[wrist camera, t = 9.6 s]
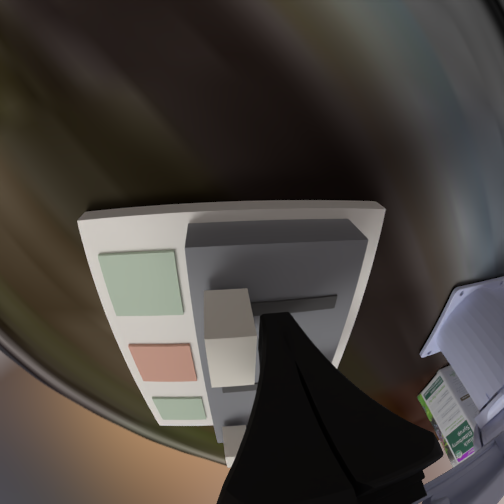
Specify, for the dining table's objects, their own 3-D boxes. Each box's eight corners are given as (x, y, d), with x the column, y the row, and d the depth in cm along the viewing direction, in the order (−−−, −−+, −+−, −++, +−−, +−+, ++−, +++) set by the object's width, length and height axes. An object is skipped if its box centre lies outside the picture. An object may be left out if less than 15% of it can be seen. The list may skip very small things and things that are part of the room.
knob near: (247, 287, 10) (256, 335, 8) (246, 339, 12) (254, 384, 10) (203, 290, 10) (204, 339, 8) (209, 341, 12) (211, 387, 10)
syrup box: (438, 368, 25) (491, 464, 13) (466, 358, 26) (516, 441, 14) (415, 396, 28) (457, 484, 16) (444, 385, 29) (485, 463, 17)
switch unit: (375, 201, 13) (410, 228, 11) (315, 403, 23) (323, 431, 20) (85, 211, 11) (57, 244, 9) (160, 416, 21) (158, 445, 18)
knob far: (245, 424, 17) (250, 455, 15) (245, 438, 18) (249, 465, 16) (222, 426, 16) (225, 457, 14) (224, 440, 18) (227, 467, 16)
